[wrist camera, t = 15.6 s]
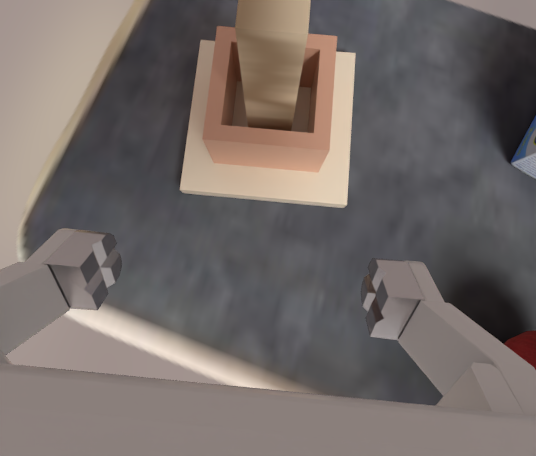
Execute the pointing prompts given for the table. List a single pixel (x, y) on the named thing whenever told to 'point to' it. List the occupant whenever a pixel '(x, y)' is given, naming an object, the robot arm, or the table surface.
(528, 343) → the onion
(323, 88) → the stepped square socket
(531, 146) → the medicine box
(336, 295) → the table surface
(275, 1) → the tall tan block
